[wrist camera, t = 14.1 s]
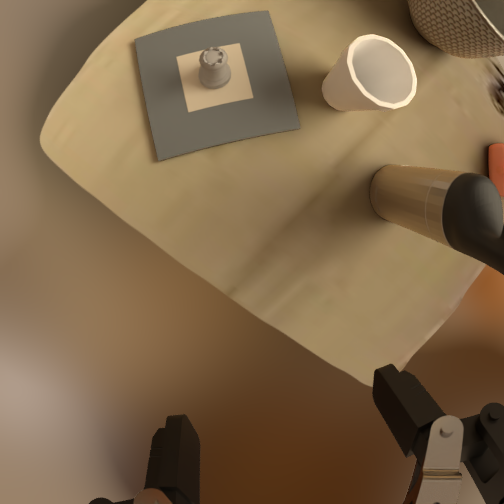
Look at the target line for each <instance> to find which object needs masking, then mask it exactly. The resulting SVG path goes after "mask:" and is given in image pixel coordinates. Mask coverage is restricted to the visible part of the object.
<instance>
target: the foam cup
mask: <svg viewBox="0 0 504 504" xmlns="http://www.w3.org/2000/svg"><path fill="white" fill-rule="evenodd" d="M416 84H417V78H416V74H415V71H414V68H413V64H412V62H411V61H410V60H409V58H408V57H407V55H406V54H405V52H404V51H403V50H402V49H401V48H400V47H399V46H397V45H396V44H395V43H393V42H392V41H391V40H389V39H388V38H384V37H381V36H378V35H374V34H370V35H365V36H359V37H358V38H356V39H355V40H354V41H353V42H351V43H350V44H349V45H348V46H347V47H346V48H345V49H344V50H343V51H342V53H341V57H340V58H339V59H338V61H337V62H336V64H335V65H334V66H333V68H332V69H331V71H330V72H329V73H328V75H327V76H326V78H325V79H324V81H323V84H322V89H321V90H322V93H323V97H324V99H325V100H326V102H327V103H328V104H329V105H330V106H331V107H333V108H335V109H336V110H340V111H364V110H379V111H384V112H385V111H389V110H393V109H397V108H399V107H402V106H405V105H408V104H409V102H410V101H411V99H412V98H413V97H414V95H415V93H416Z"/></svg>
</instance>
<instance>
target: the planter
mask: <svg viewBox="0 0 504 504" xmlns="http://www.w3.org/2000/svg"><path fill="white" fill-rule="evenodd" d="M408 5H409V9H410V16H411V20H412V22H413V24H414V26H415V28H416V29H417V31H418V32H419V33H420V34H421V36H422V37H423V38H424V39H426V40H427V41H428V42H429V43H431V44H433V45H434V46H437V47H438V48H440V49H441V50H443V51H444V52H446V53H449V54H451V55H453V56H456V57H460V58H485V57H495V56H503V55H504V0H408Z"/></svg>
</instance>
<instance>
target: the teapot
mask: <svg viewBox="0 0 504 504" xmlns="http://www.w3.org/2000/svg"><path fill="white" fill-rule="evenodd" d="M489 179H490V180H491V181H492V182H493V183H494V184H495V186H496V188H497V190H498V192H499V194H500V196H502V197H504V144H502V143H497V144H493V145H490V146H489Z"/></svg>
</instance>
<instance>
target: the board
mask: <svg viewBox="0 0 504 504" xmlns="http://www.w3.org/2000/svg"><path fill="white" fill-rule="evenodd" d="M135 45H136V52H137V58H138V64H139V70H140V76H141V81H142V87H143V92H144V97H145V102H146V107H147V112H148V117H149V121H150V126H151V131H152V135H153V140H154V144H155V148H156V153H157V157H158V161H162V160H165V159H169V158H172V157H176V156H179V155H183V154H186V153H190V152H194V151H197V150H201V149H205V148H209V147H213V146H217V145H221V144H226V143H230V142H234V141H239V140H244V139H248V138H253V137H258V136H263V135H268V134H274V133H279V132H285V131H291V130H297V129H301V128H300V124H299V119H298V115H297V111H296V107H295V103H294V99H293V95H292V91H291V87H290V83H289V79H288V75H287V72H286V68H285V64H284V61H283V57H282V54H281V50H280V47H279V43H278V40H277V37H276V33H275V30H274V27H273V24H272V21H271V18H270V14H269V11H258V12H249V13H241V14H234V15H228V16H222V17H216V18H211V19H206V20H201V21H196V22H192V23H188V24H184V25H180V26H176V27H172V28H169V29H165V30H162V31H158V32H155V33H152V34H149V35H146V36H143V37H140V38H137V39H135ZM209 47H219V48H221V49H223V50H224V51H225V52H226V53H227V56H228V61H227V64H228V65H229V67H230V69H231V79H230V80H229V82H228V84H226V85H225V86H224V87H222V88H218V89H209V88H207V87H204V86H203V85H202V84H201V83H200V80H199V77H198V76H199V75H198V74H199V69H200V67H201V64H200V62H199V58H200V55H201V53H202V52H203V51H204V50H205V49H207V48H209Z"/></svg>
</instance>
